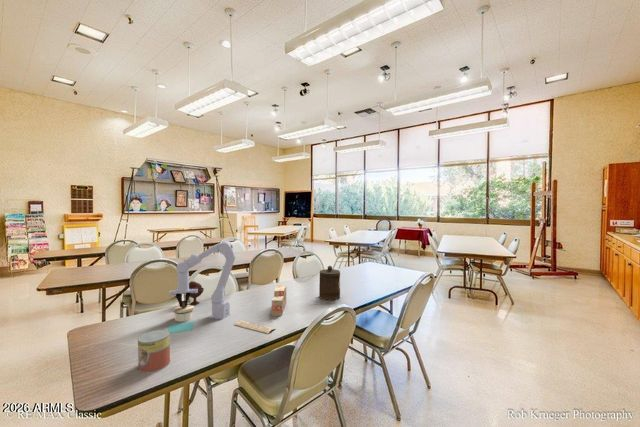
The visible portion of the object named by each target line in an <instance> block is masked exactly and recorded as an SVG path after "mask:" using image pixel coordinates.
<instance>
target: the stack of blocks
mask: <svg viewBox="0 0 640 427" xmlns="http://www.w3.org/2000/svg"><path fill="white" fill-rule="evenodd" d="M273 292H274V293H273V297H272V299H271V316H275V317H278V316H280V317H282V316H283V313H284V311H285V308H286V306H287V285H276V286H275V288H274V291H273Z"/></svg>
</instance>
